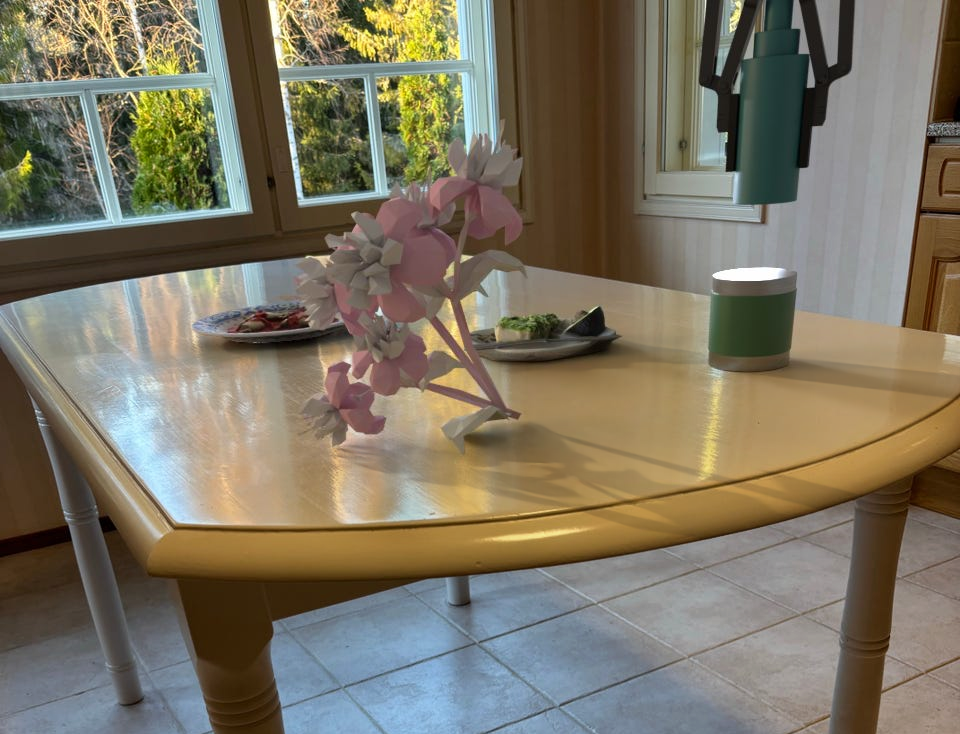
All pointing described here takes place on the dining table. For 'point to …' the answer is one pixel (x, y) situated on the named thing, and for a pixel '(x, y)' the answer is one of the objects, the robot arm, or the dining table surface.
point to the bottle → (771, 112)
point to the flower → (411, 292)
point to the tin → (751, 319)
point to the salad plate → (544, 337)
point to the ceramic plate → (263, 324)
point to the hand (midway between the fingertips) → (766, 168)
